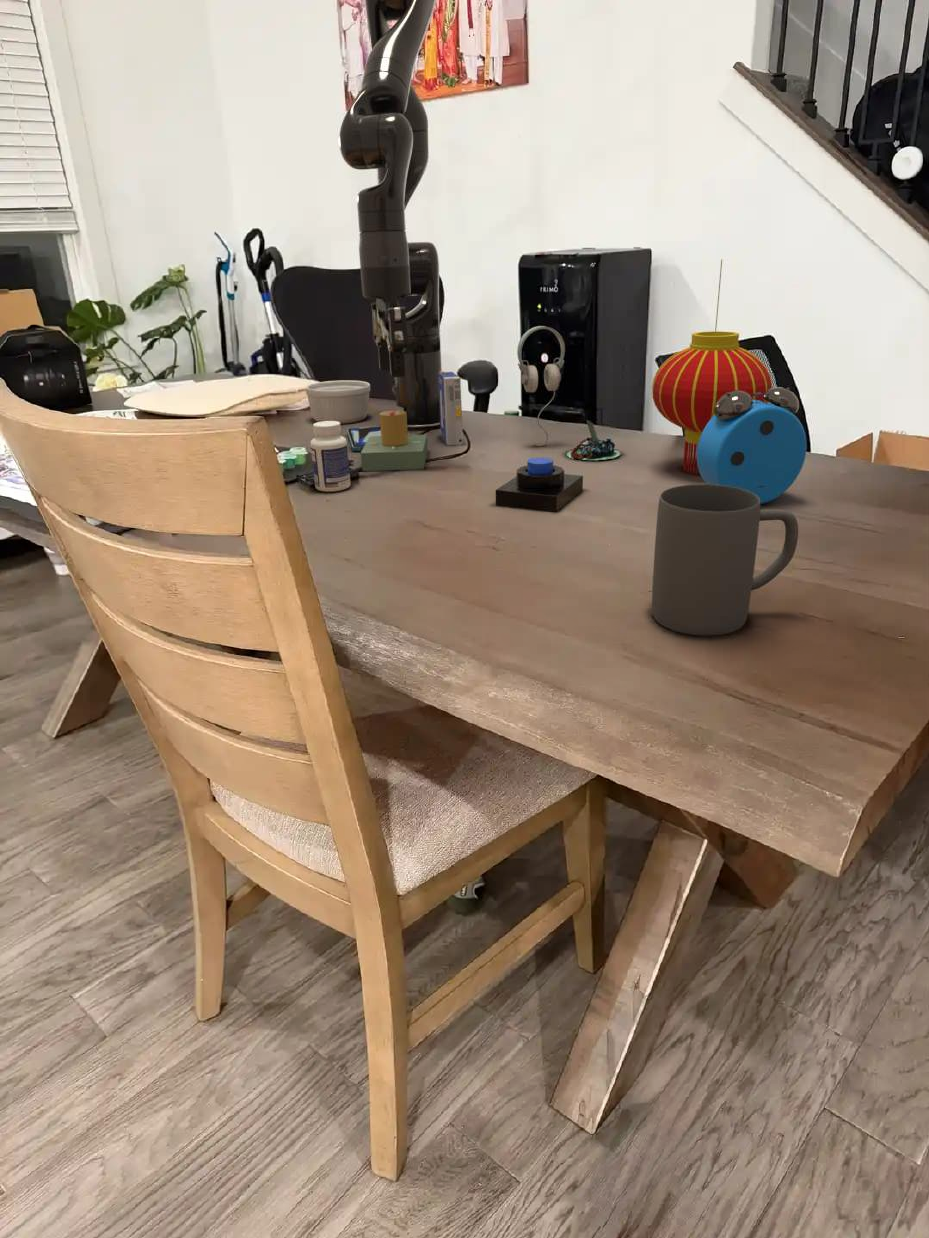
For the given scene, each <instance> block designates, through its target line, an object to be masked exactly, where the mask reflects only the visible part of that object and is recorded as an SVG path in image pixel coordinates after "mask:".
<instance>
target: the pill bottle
mask: <svg viewBox="0 0 929 1238" xmlns="http://www.w3.org/2000/svg"><path fill="white" fill-rule="evenodd" d="M312 429H313V431H312V432H313V434H314V435H315V437H314V438H312V439H311V441H310V454H311V462H312V463H311V464H312V469H313V470H312V471H313V479H314V481H313V482H314V487H315V489H316V490H317V491H321V492H326V493H327V492H328V493H331V492H333V493H334V492H339V491H344V490H346V489H349V488H350V487H351V473H350V472H351V471H350V462H349V452H348V451H349V450H348V441H347V439H346V437H344V436H343V435H341V433H342V427H341V424H340V422H337V421H322V422H317V421H316V422H315V423H313V425H312Z"/></svg>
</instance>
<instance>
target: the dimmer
mask: <svg viewBox="0 0 929 1238" xmlns="http://www.w3.org/2000/svg"><path fill="white" fill-rule="evenodd" d="M428 448H429V447H428V434H408V443H407V444H405V445H400V446H386V445H383V444H382V439H381V436H370V437H369V439H368V440H367V442H366V444H365V446H364V448H363V450H362V451H360V460H361V471H362V472H376V471H377V472H379V471H382V472H383V471H411V470H412V471H413V470H424V469H425V465H426V461H427V456H428V451H429V449H428Z"/></svg>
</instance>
